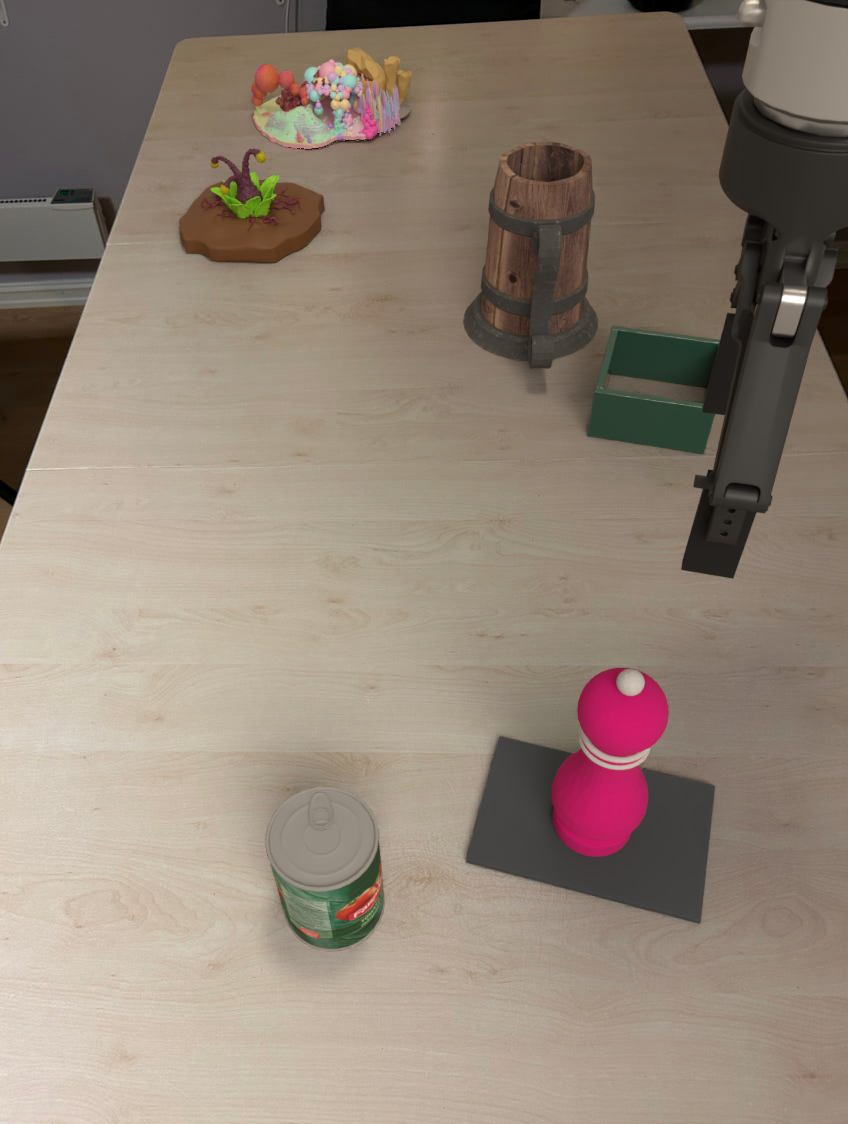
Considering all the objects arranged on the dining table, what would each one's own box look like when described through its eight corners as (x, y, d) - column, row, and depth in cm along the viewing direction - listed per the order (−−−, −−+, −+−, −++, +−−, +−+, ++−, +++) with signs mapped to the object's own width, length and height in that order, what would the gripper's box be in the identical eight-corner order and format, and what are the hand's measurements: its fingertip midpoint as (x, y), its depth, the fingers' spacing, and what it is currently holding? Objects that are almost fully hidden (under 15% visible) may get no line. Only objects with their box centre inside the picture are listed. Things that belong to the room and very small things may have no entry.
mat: (713, 789, 79) (715, 785, 79) (699, 924, 72) (701, 921, 72) (498, 739, 83) (499, 735, 83) (465, 862, 76) (465, 859, 76)
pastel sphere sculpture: (343, 74, 171) (339, 16, 164) (437, 113, 160) (437, 52, 153) (231, 122, 161) (222, 62, 154) (323, 167, 150) (318, 105, 143)
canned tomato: (389, 946, 73) (383, 884, 64) (285, 956, 72) (265, 895, 64) (380, 850, 78) (374, 780, 69) (282, 859, 77) (264, 791, 69)
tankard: (462, 284, 128) (466, 128, 112) (591, 282, 127) (614, 123, 111) (465, 395, 113) (472, 233, 97) (611, 393, 112) (641, 229, 96)
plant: (291, 273, 131) (281, 192, 123) (163, 254, 136) (144, 175, 127) (341, 201, 143) (335, 122, 134) (221, 186, 148) (208, 110, 139)
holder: (713, 384, 112) (726, 340, 107) (703, 454, 105) (716, 409, 100) (604, 369, 115) (612, 325, 110) (587, 436, 108) (594, 391, 103)
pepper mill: (611, 771, 80) (655, 618, 65) (654, 846, 76) (712, 701, 60) (531, 798, 79) (556, 648, 63) (570, 875, 75) (607, 735, 59)
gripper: (752, -20, 47) (672, 350, 64) (714, 247, 33) (622, 636, 49) (918, -14, 46) (791, 364, 62) (955, 270, 31) (776, 664, 48)
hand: (716, 485), depth 56 cm, fingers open, 13 cm apart
